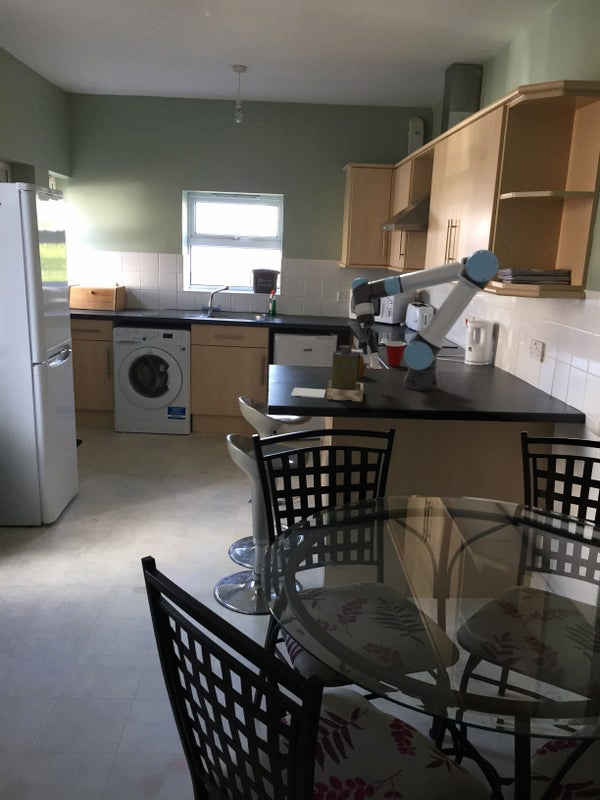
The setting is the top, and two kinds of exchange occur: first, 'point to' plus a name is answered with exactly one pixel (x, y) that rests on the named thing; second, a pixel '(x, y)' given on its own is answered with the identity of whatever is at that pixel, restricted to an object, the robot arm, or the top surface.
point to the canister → (345, 369)
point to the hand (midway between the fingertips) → (372, 365)
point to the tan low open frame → (345, 393)
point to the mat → (308, 392)
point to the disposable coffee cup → (361, 364)
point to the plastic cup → (394, 352)
